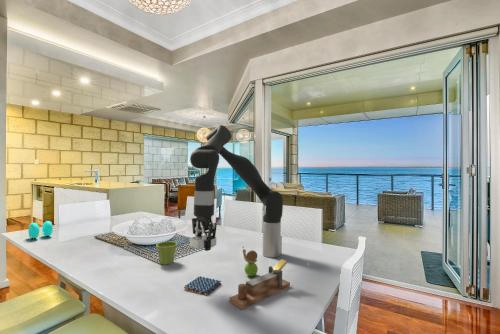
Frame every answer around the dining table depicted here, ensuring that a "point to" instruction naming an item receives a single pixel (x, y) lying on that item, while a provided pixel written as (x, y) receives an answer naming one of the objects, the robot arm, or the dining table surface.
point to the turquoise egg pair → (46, 229)
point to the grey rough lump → (200, 242)
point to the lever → (279, 266)
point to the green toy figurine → (250, 262)
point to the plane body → (259, 289)
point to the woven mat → (202, 285)
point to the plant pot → (166, 252)
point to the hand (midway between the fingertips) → (203, 248)
